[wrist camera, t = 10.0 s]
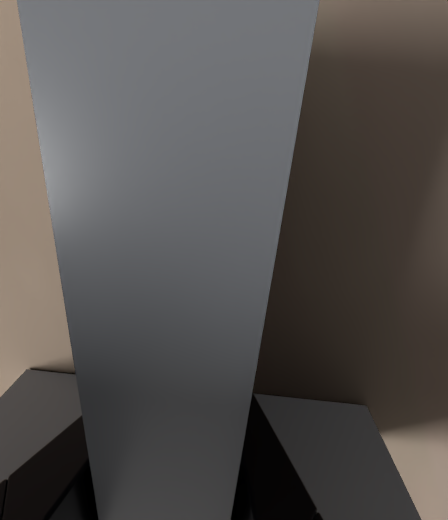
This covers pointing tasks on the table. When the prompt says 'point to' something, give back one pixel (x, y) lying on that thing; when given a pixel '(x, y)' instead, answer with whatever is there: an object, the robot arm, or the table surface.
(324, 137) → the table surface
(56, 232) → the grey piece
